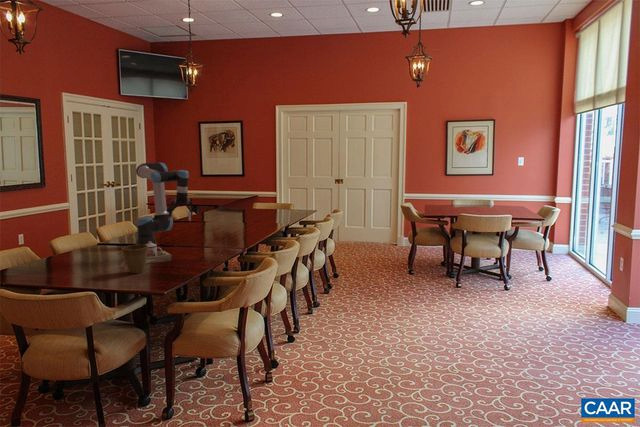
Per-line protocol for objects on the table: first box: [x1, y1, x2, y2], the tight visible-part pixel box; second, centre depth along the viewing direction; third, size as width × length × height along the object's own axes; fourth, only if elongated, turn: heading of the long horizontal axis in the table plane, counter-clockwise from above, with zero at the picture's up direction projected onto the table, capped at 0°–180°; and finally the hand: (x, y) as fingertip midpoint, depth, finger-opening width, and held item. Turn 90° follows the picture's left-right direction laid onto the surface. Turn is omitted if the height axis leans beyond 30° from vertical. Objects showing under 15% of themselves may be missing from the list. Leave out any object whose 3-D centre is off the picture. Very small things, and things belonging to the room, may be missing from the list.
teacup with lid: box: [146, 241, 163, 257], centre depth 336 cm, size 12×9×12 cm
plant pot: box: [121, 244, 148, 274], centre depth 305 cm, size 15×15×16 cm
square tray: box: [145, 250, 173, 265], centre depth 337 cm, size 17×20×4 cm
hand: (180, 221), depth 356 cm, fingers open, 13 cm apart
